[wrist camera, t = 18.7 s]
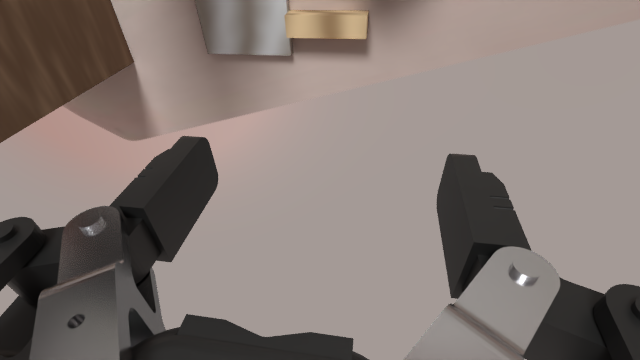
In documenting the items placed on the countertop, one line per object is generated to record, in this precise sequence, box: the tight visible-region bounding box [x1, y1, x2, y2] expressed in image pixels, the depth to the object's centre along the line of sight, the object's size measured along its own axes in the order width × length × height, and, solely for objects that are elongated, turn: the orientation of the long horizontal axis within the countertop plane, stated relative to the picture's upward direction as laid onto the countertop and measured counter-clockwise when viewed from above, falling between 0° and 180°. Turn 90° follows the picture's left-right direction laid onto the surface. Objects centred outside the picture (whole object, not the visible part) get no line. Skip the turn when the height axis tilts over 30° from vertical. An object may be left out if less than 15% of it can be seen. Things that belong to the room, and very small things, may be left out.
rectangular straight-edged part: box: [195, 0, 369, 56], centre depth 42 cm, size 22×8×3 cm, turn 92°
